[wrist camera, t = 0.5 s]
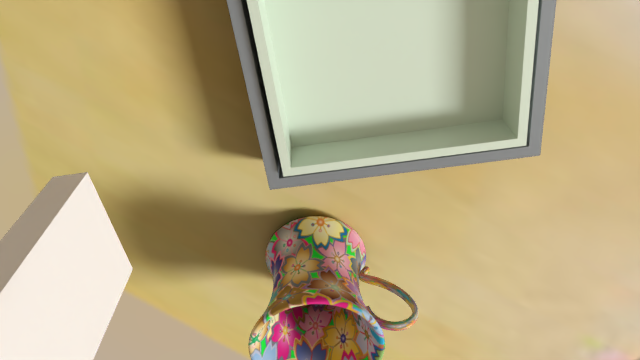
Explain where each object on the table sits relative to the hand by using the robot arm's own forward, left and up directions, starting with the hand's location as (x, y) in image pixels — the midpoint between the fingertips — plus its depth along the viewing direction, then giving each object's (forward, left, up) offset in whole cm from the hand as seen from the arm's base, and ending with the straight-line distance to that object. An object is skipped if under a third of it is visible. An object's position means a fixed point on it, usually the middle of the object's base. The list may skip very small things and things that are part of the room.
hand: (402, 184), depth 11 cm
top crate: (+4, +3, -24) cm, 25 cm away
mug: (+21, -3, -25) cm, 33 cm away
